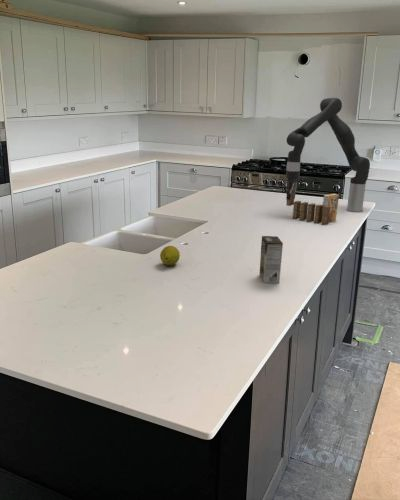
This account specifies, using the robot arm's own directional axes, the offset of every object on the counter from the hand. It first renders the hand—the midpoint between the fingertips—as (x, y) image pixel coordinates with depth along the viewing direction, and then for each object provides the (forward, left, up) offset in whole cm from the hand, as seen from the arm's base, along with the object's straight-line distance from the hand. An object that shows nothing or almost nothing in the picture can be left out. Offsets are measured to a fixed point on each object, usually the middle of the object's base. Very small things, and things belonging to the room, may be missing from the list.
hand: (290, 199), depth 294 cm
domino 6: (0, +23, -11) cm, 25 cm away
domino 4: (0, +14, -11) cm, 17 cm away
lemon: (+111, +5, -11) cm, 112 cm away
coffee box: (+97, +44, -11) cm, 107 cm away
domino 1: (0, 0, -3) cm, 3 cm away
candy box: (-7, +21, -11) cm, 25 cm away
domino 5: (0, +18, -11) cm, 21 cm away
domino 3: (0, +9, -11) cm, 14 cm away
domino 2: (0, +5, -11) cm, 12 cm away
